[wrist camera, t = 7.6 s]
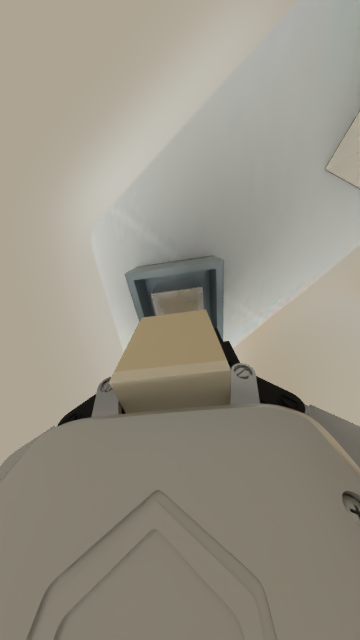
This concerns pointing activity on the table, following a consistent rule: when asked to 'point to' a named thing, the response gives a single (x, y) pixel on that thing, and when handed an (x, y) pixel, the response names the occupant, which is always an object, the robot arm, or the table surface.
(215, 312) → the tote
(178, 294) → the block
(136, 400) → the beige cube
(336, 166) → the milk
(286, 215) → the table surface
